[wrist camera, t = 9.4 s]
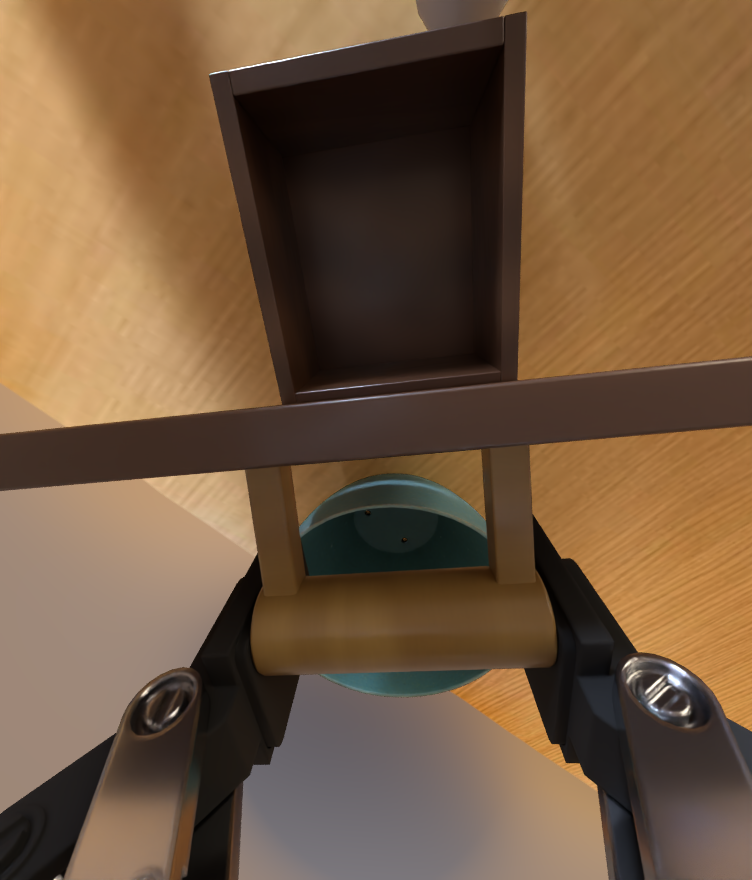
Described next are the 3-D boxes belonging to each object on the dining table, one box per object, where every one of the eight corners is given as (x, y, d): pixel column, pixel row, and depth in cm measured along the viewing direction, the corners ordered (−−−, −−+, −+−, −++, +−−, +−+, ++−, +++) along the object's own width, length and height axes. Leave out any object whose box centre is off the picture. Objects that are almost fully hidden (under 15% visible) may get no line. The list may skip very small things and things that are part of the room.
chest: (270, 148, 25) (208, 73, 17) (481, 111, 24) (527, 10, 16) (313, 380, 31) (283, 409, 23) (483, 362, 30) (517, 385, 22)
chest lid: (-153, 450, 5) (-56, 775, 6) (1073, 323, 4) (1008, 772, 4) (280, 405, 23) (291, 486, 23) (519, 380, 21) (523, 467, 22)
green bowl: (452, 600, 40) (474, 719, 29) (295, 564, 39) (254, 672, 28) (512, 459, 33) (572, 542, 22) (324, 414, 33) (286, 475, 21)
